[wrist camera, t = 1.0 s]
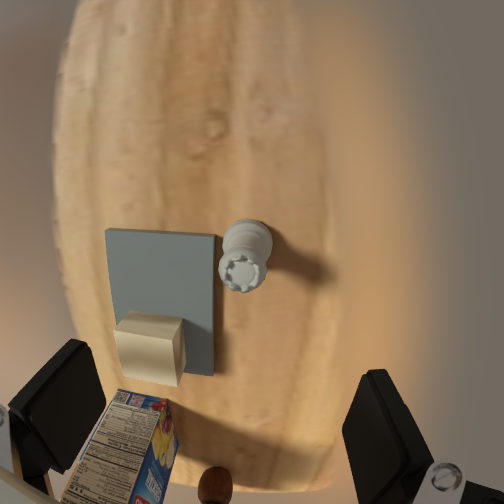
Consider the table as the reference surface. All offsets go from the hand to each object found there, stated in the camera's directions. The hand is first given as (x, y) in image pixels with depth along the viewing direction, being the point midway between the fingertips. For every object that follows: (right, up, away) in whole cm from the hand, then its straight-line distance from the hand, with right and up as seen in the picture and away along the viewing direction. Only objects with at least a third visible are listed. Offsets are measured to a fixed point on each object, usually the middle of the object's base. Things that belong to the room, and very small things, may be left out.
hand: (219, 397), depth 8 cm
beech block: (-9, -4, +20) cm, 22 cm away
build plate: (-8, -1, +20) cm, 22 cm away
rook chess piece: (+1, +6, +18) cm, 19 cm away
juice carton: (-14, -20, +26) cm, 36 cm away
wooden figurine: (-5, -34, +30) cm, 46 cm away
